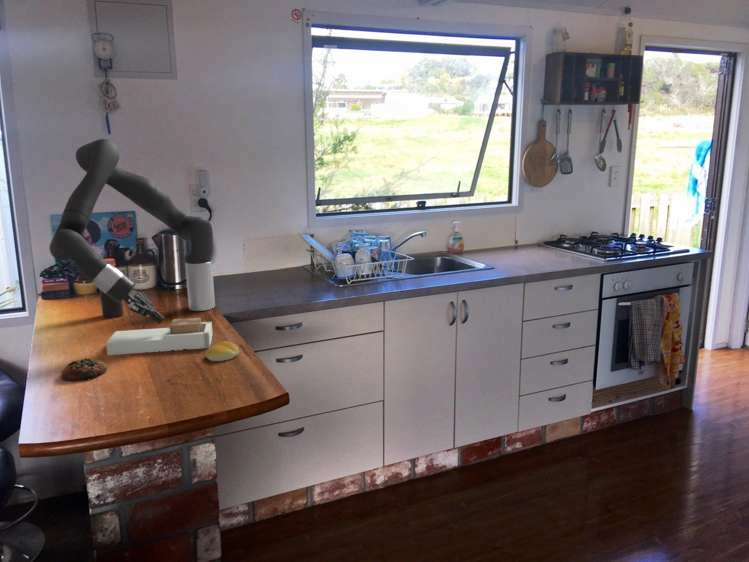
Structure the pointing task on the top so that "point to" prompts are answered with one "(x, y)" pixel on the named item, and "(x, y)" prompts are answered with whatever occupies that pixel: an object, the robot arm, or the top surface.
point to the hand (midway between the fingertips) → (162, 321)
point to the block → (186, 326)
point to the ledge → (137, 341)
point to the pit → (190, 339)
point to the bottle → (110, 302)
